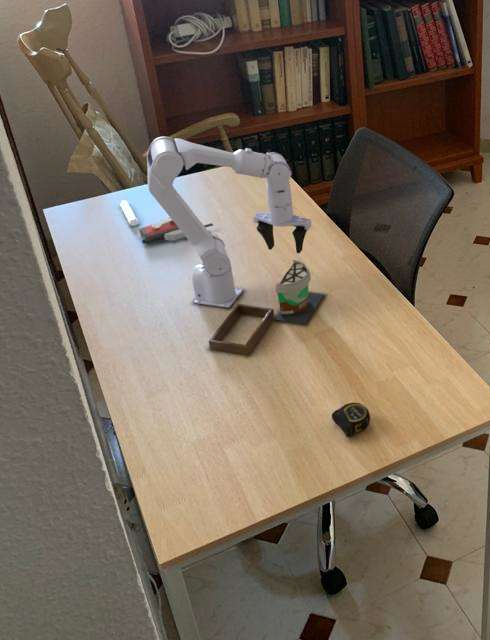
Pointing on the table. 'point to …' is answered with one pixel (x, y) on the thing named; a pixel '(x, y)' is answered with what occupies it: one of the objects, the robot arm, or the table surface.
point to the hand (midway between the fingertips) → (285, 249)
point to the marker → (129, 213)
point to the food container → (294, 290)
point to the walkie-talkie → (162, 232)
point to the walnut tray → (239, 309)
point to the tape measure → (352, 418)
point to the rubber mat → (304, 316)
